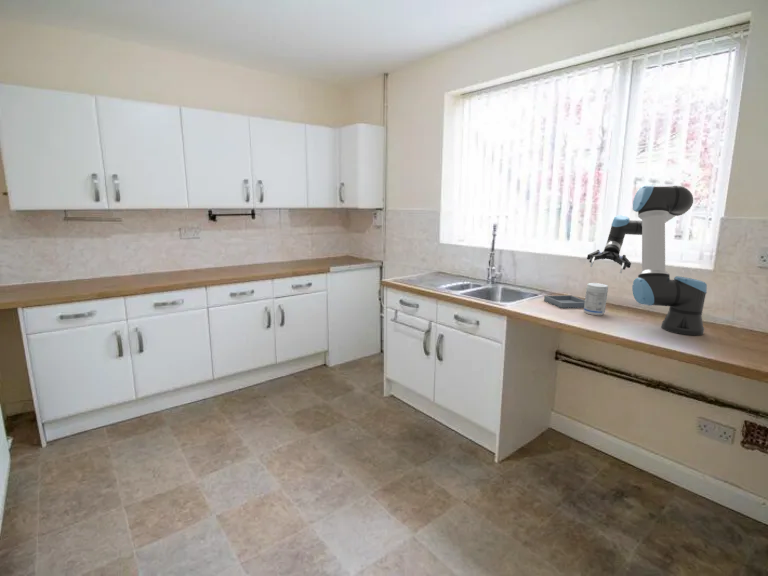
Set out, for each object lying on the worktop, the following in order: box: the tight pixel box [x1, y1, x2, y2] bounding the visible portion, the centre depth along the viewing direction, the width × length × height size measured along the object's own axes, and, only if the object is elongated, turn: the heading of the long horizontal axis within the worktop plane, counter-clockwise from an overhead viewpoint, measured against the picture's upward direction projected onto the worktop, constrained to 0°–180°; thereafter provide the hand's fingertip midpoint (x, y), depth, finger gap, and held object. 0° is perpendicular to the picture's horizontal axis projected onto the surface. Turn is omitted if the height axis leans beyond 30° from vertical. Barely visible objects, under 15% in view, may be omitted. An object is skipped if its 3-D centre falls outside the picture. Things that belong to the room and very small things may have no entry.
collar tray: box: [543, 294, 585, 309], centre depth 223 cm, size 17×17×3 cm
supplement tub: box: [583, 282, 609, 316], centre depth 205 cm, size 10×10×15 cm
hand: (606, 267), depth 207 cm, fingers open, 13 cm apart
